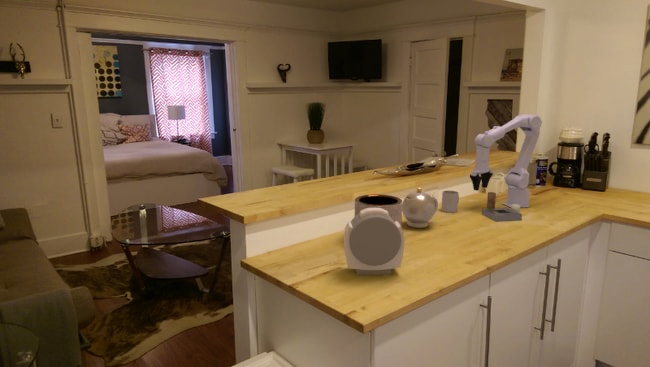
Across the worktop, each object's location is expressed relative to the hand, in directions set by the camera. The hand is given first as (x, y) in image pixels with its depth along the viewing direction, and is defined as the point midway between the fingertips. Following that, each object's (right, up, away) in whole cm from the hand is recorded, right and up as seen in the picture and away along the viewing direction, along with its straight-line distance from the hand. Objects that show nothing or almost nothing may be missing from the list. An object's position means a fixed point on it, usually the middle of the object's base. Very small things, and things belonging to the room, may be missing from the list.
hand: (480, 188), depth 207 cm
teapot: (-33, -15, -22) cm, 43 cm away
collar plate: (+5, -12, -11) cm, 17 cm away
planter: (-53, -19, -40) cm, 69 cm away
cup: (-14, -10, 0) cm, 17 cm away
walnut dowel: (+5, -10, +1) cm, 11 cm away
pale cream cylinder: (+14, -11, -5) cm, 19 cm away
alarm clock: (-58, -25, -68) cm, 93 cm away
